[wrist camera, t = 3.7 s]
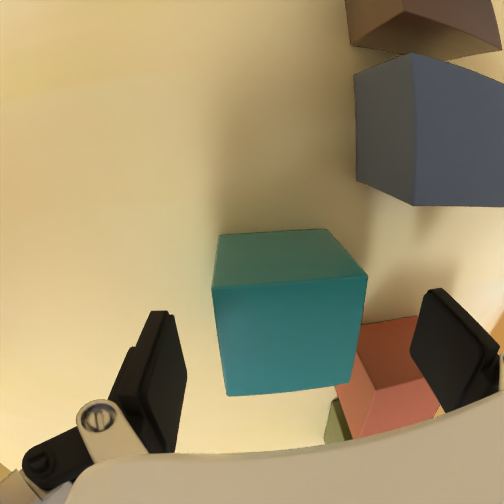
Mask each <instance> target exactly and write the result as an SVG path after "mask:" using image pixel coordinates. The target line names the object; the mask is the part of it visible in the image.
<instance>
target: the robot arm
mask: <svg viewBox="0 0 504 504" xmlns="http://www.w3.org/2000/svg"><path fill="white" fill-rule="evenodd" d="M499 348H500V346H499V344H498V343H497V342H496V341H495V340H494V339H493V338H492V337H491V336H490V335H489V334H488V333H487V332H486V331H485V330H484V329H483V327H482V326H481V325H480V324H479V323H478V322H477V321H476V320H475V319H474V318H473V317H472V316H471V315H470V314H469V313H468V312H467V311H466V310H465V309H464V308H463V307H462V306H461V305H460V304H459V303H457V302H456V301H455V300H454V299H453V298H452V297H451V296H450V295H449V294H448V293H447V292H446V291H445V290H444V289H442V288H437V289H430V290H428V291H427V293H426V294H425V295H424V297H423V301H422V305H421V309H420V313H419V317H418V320H417V324H416V328H415V331H414V335H413V338H412V342H411V345H410V349H409V352H410V356H411V358H412V359H413V361H414V362H415V364H416V365H417V367H418V369H419V370H420V372H421V373H422V375H423V377H424V378H425V380H426V381H427V383H428V385H429V386H430V388H431V390H432V391H433V393H434V395H435V396H436V398H437V400H438V401H439V403H440V405H441V406H442V408H443V410H444V412H445V414H443V415H440V416H437V417H434V418H431V419H428V420H425V421H422V422H419V423H415V424H412V425H409V426H405V427H402V428H398V429H395V430H391V431H387V432H383V433H379V434H375V435H371V436H367V437H362V438H358V439H353V440H348V441H343V442H337V443H331V444H325V445H319V446H312V447H305V448H297V449H288V450H278V451H265V452H249V453H223V454H194V453H187V454H179V453H174V451H175V447H176V441H177V434H178V428H179V422H180V416H181V410H182V405H183V399H184V393H185V388H186V382H187V369H186V365H185V361H184V357H183V353H182V349H181V345H180V340H179V336H178V332H177V327H176V323H175V318H174V315H169V313H168V311H151V312H150V314H149V317H148V319H147V321H146V323H145V326H144V328H143V330H142V332H141V335H140V337H139V339H138V342H137V344H136V346H135V347H130V349H129V350H128V352H127V355H126V357H125V359H124V361H123V364H122V366H121V368H120V371H119V373H118V375H117V378H116V380H115V383H114V385H113V387H112V390H111V392H110V395H109V397H108V400H105V399H99V400H94V401H90V402H89V403H87V404H85V405H84V406H83V407H82V408H81V409H80V410H79V412H78V414H77V417H76V424H77V426H76V427H74V428H72V429H70V430H68V431H66V432H64V433H62V434H60V435H58V436H56V437H54V438H51V439H49V440H47V441H45V442H43V443H41V444H39V445H36V446H34V447H33V448H31V449H29V450H28V451H27V453H26V454H25V455H24V458H23V460H22V468H23V469H21V470H20V471H18V470H17V469H15V470H14V471H13V472H12V473H11V474H9V475H8V476H7V477H6V478H5V479H4V480H2V481H1V482H0V504H504V351H503V352H502V353H501V354H500V356H499V355H498V354H497V352H498V350H499Z"/></svg>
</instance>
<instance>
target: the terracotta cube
mask: <svg viewBox="0 0 504 504" xmlns="http://www.w3.org/2000/svg"><path fill="white" fill-rule="evenodd" d="M417 320H418V316H413V317H408V318H402V319H397V320H391V321H385V322H379V323H372V324H366V325H361V327H360V333H359V338H358V344H357V349H356V354H355V359H354V364H353V369H352V373H351V378H350V382H349V383H346V384H341V385H335V389H336V392H337V395H338V398H339V400H340V403H341V406H342V409H343V412H344V414H345V417H346V420H347V423H348V426H349V429H350V432H351V434H352V437H353V439H358V438H362V437H367V436H371V435H375V434H379V433H383V432H387V431H391V430H395V429H398V428H402V427H405V426H409V425H412V424H415V423H419V422H422V421H425V420H428V419H431V418H433V417H434V415H435V413H436V412H437V410H438V408H439V406H440V403H439V401H438V400H437V398H436V396H435V395H434V393H433V391H432V390H431V388H430V386H429V385H428V383H427V381H426V380H425V378H424V377H423V375H422V373H421V372H420V370H419V369H418V367H417V365H416V364H415V362H414V361H413V359H412V358H411V356H410V352H409V349H410V345H411V342H412V338H413V335H414V331H415V328H416V324H417Z"/></svg>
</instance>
